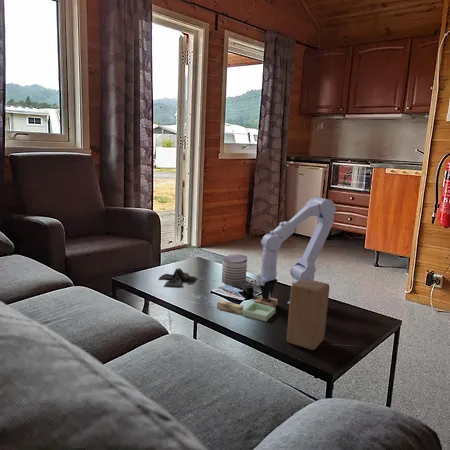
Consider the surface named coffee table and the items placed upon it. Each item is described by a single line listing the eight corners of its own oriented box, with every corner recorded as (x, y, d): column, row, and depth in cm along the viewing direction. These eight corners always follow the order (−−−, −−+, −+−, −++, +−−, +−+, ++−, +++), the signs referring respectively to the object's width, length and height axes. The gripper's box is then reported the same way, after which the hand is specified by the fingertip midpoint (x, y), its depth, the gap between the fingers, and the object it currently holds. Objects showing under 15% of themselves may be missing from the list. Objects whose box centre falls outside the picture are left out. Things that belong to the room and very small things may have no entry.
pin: (270, 305, 168) (271, 287, 166) (267, 307, 165) (269, 289, 164) (264, 304, 169) (265, 286, 167) (262, 306, 166) (263, 288, 165)
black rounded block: (261, 301, 173) (262, 290, 172) (245, 302, 171) (246, 292, 170) (249, 290, 185) (250, 280, 184) (234, 291, 182) (234, 281, 181)
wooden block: (314, 352, 131) (320, 291, 128) (284, 342, 137) (290, 284, 133) (324, 340, 140) (330, 283, 136) (296, 332, 145) (301, 276, 141)
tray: (275, 313, 160) (275, 307, 160) (266, 321, 152) (266, 315, 152) (252, 307, 164) (253, 302, 164) (242, 315, 156) (243, 310, 156)
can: (248, 286, 189) (249, 260, 187) (223, 286, 187) (224, 260, 185) (243, 278, 200) (245, 253, 198) (220, 278, 198) (221, 253, 196)
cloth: (169, 291, 179) (169, 277, 178) (150, 278, 194) (150, 266, 192) (212, 283, 191) (213, 270, 190) (192, 272, 206) (192, 260, 205)
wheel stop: (243, 312, 159) (243, 305, 159) (240, 314, 157) (240, 307, 157) (219, 306, 164) (220, 300, 163) (216, 308, 162) (217, 302, 161)
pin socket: (277, 304, 169) (277, 299, 168) (271, 310, 162) (271, 304, 162) (261, 301, 172) (261, 295, 171) (254, 306, 165) (254, 300, 165)
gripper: (266, 258, 172) (264, 290, 174) (252, 267, 159) (250, 301, 162) (282, 261, 169) (280, 293, 171) (269, 270, 156) (267, 305, 159)
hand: (266, 297), depth 166 cm, fingers closed on pin, 2 cm apart
